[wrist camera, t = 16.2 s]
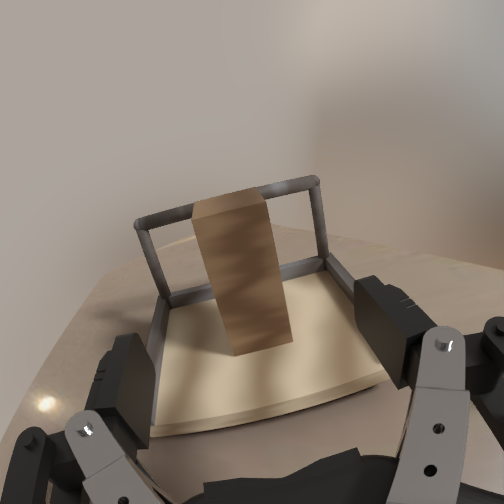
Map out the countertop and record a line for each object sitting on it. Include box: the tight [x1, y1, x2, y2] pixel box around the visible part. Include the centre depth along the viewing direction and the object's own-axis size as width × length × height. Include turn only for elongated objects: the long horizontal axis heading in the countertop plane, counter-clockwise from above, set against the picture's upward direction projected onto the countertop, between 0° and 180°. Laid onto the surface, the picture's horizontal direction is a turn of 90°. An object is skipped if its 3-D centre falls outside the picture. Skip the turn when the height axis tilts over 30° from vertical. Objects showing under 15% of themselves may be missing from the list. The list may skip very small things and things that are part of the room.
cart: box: [134, 175, 391, 437], centre depth 26 cm, size 20×17×14 cm
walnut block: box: [191, 187, 293, 357], centre depth 25 cm, size 5×5×12 cm
